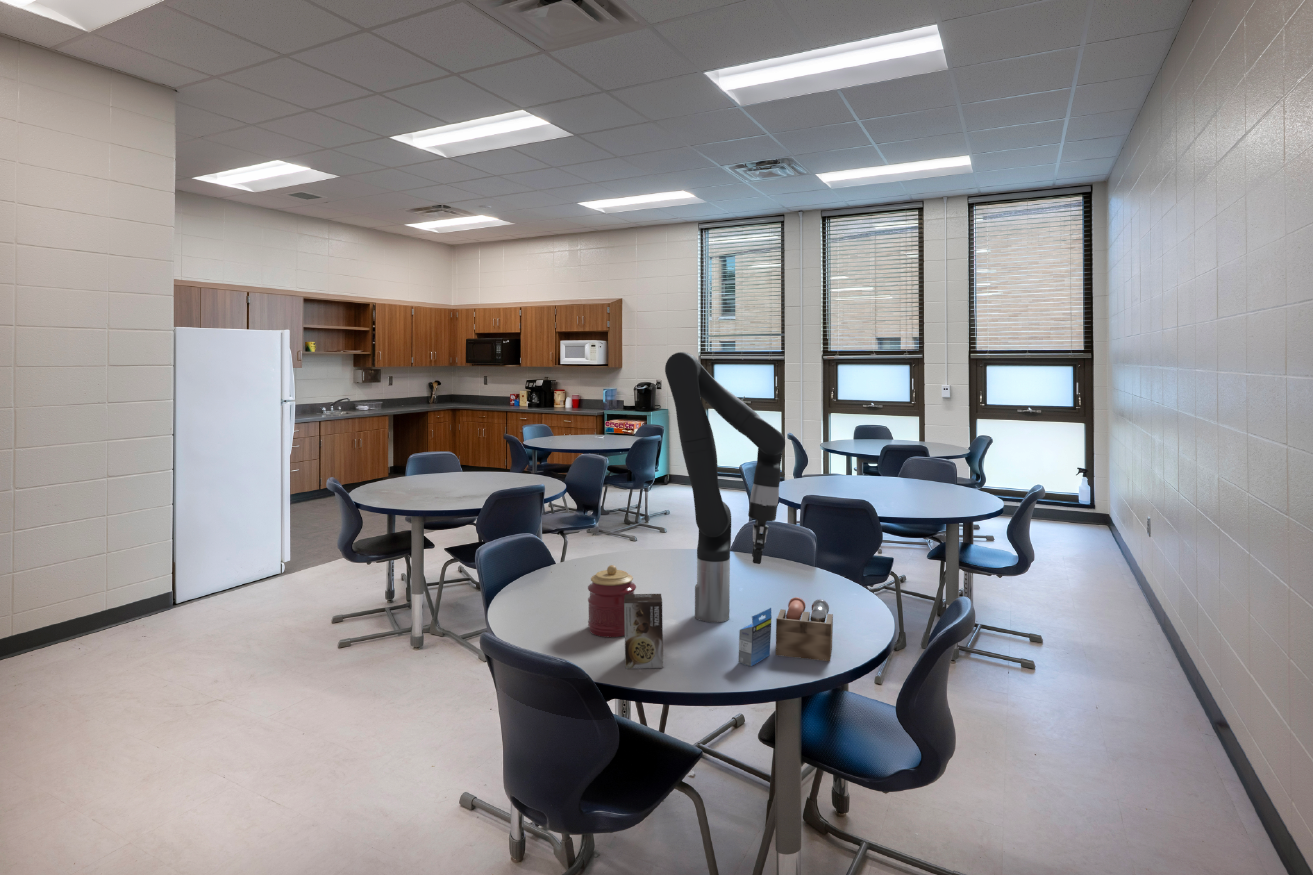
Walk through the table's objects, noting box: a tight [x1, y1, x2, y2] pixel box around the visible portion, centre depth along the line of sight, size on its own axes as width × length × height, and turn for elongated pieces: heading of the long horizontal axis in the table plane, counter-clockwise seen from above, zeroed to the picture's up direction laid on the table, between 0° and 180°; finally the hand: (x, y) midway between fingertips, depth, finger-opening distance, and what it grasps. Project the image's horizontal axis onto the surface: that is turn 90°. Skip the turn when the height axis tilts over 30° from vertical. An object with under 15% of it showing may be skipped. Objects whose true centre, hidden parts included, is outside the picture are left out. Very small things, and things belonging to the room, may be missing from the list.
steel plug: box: [810, 598, 830, 623], centre depth 183 cm, size 4×10×4 cm, turn 163°
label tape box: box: [737, 607, 772, 667], centre depth 173 cm, size 9×4×12 cm, turn 141°
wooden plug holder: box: [775, 609, 834, 662], centre depth 178 cm, size 13×8×9 cm, turn 73°
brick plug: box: [786, 596, 806, 620], centre depth 184 cm, size 4×10×4 cm, turn 163°
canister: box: [587, 564, 637, 638], centre depth 193 cm, size 13×13×18 cm
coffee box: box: [624, 593, 664, 670], centre depth 171 cm, size 9×6×16 cm
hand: (756, 560), depth 197 cm, fingers open, 8 cm apart
